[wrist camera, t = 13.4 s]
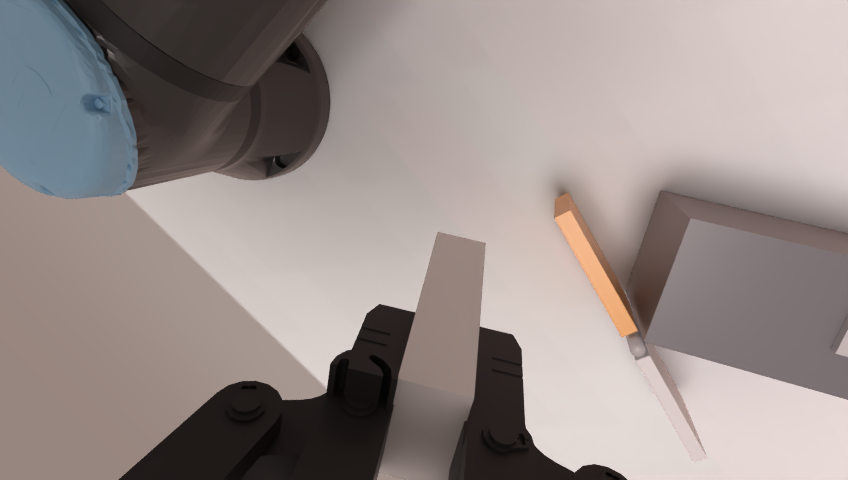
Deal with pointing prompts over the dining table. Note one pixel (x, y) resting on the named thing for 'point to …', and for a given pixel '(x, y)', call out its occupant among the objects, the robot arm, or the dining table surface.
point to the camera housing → (745, 291)
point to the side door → (626, 321)
